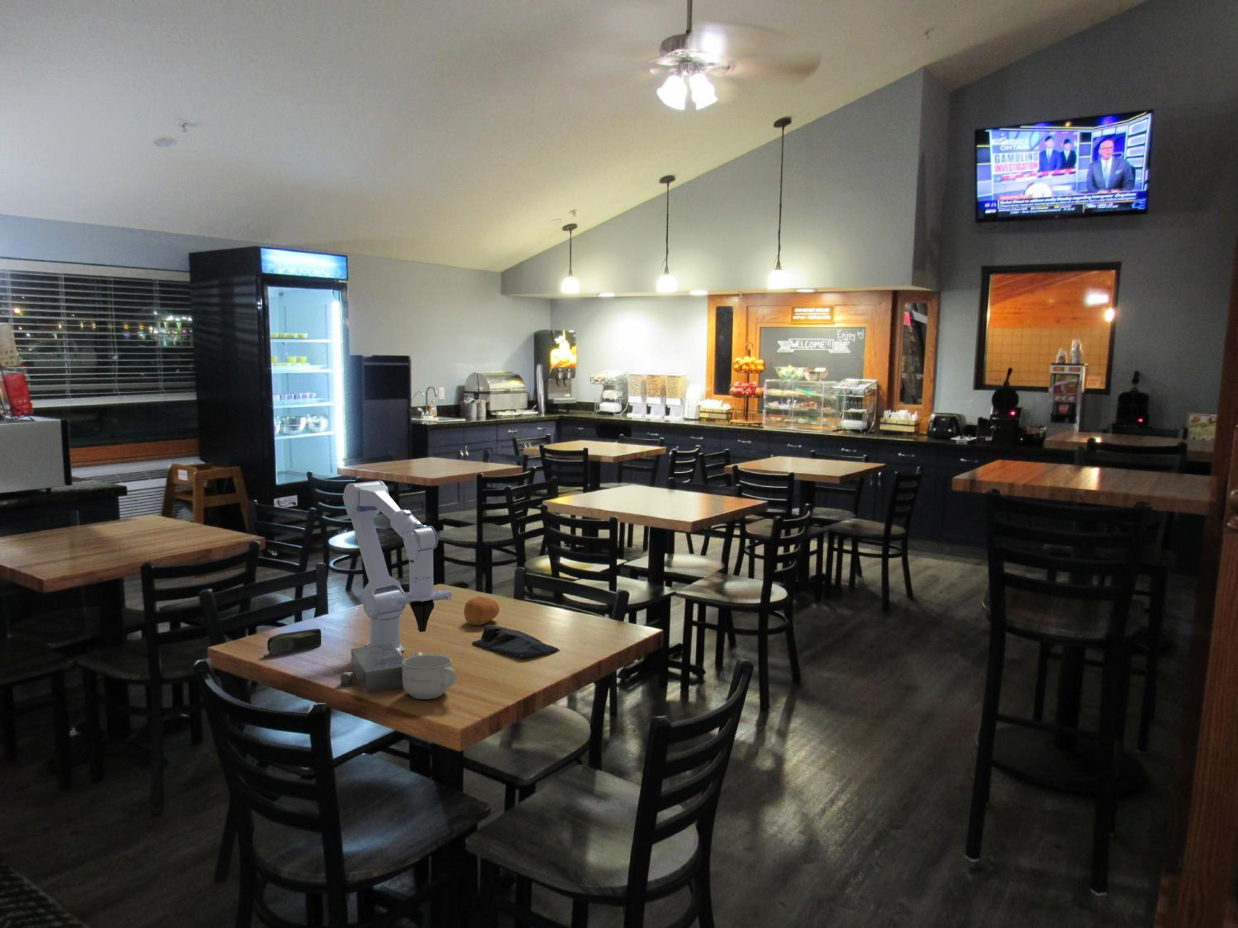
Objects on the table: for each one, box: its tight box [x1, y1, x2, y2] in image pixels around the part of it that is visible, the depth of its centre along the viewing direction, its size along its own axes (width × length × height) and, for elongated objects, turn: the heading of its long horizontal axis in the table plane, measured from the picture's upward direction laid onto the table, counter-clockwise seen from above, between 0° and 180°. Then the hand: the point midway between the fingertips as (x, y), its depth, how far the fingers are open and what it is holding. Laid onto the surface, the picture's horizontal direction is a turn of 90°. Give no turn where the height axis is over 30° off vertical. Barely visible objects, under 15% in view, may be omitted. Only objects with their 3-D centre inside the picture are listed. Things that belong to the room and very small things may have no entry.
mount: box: [350, 644, 404, 694], centre depth 199 cm, size 18×10×5 cm, turn 27°
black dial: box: [339, 671, 354, 687], centre depth 194 cm, size 3×3×3 cm
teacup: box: [402, 654, 457, 700], centre depth 187 cm, size 14×11×8 cm
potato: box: [463, 595, 500, 626], centre depth 244 cm, size 9×11×8 cm
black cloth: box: [471, 624, 561, 659], centre depth 222 cm, size 15×22×5 cm
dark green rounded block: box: [263, 628, 322, 658], centre depth 217 cm, size 5×3×15 cm
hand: (421, 630), depth 208 cm, fingers closed
